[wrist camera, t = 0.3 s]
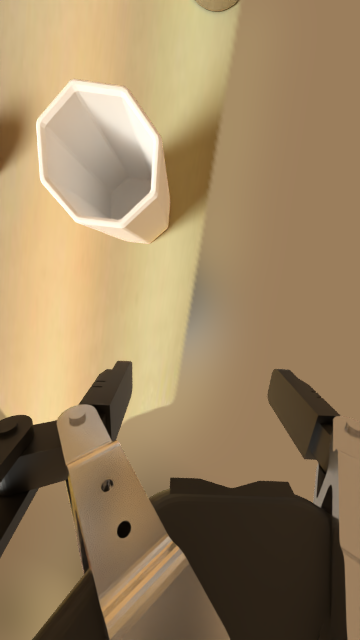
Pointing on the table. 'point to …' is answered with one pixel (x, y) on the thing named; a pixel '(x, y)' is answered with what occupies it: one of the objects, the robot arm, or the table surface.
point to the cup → (104, 161)
